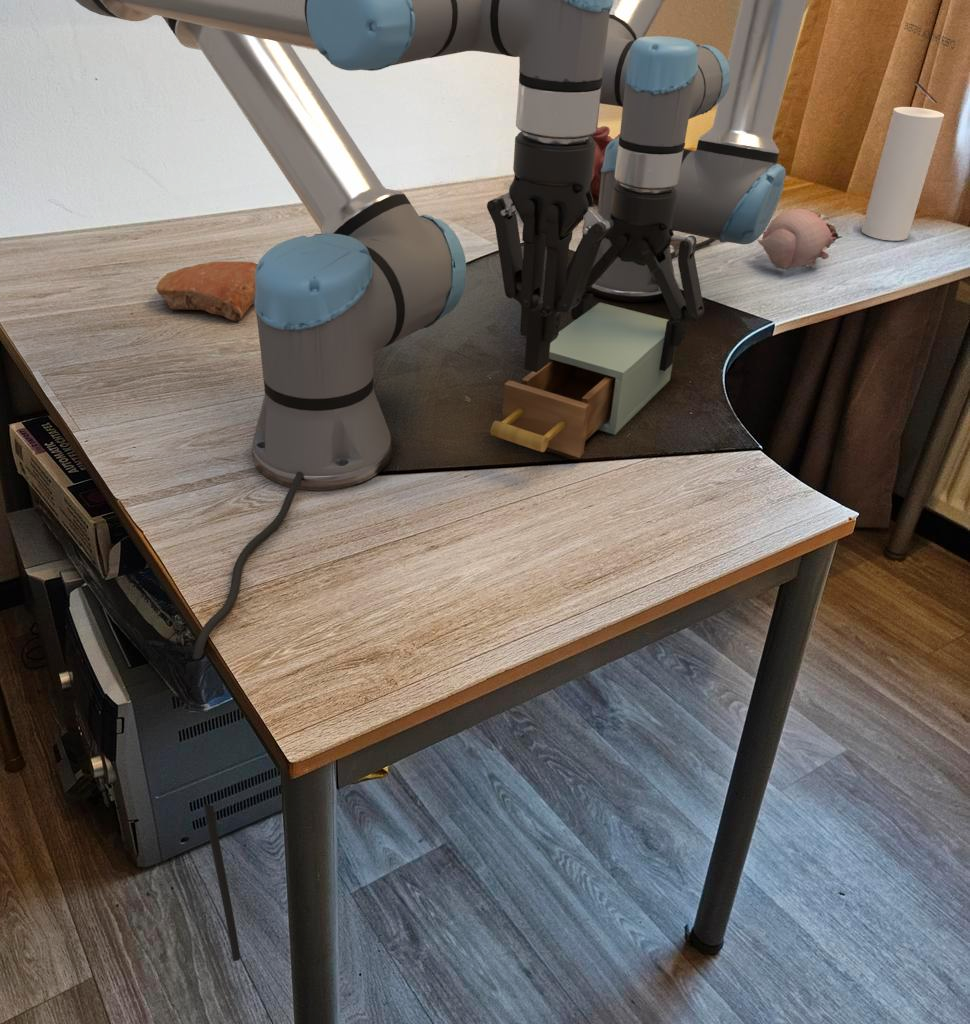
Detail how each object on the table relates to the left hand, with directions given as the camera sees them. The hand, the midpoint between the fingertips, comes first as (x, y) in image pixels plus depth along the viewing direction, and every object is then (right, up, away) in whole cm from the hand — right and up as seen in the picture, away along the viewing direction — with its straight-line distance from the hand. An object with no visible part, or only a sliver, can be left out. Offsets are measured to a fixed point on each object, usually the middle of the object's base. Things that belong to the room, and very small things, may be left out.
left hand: (536, 365), depth 102 cm
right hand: (+12, +5, +23) cm, 27 cm away
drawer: (+3, -5, +12) cm, 13 cm away
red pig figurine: (+12, +46, +90) cm, 102 cm away
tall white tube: (+71, +38, +83) cm, 115 cm away
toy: (+48, +27, +65) cm, 85 cm away
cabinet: (+10, 0, +21) cm, 23 cm away
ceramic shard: (-46, +16, +41) cm, 64 cm away
